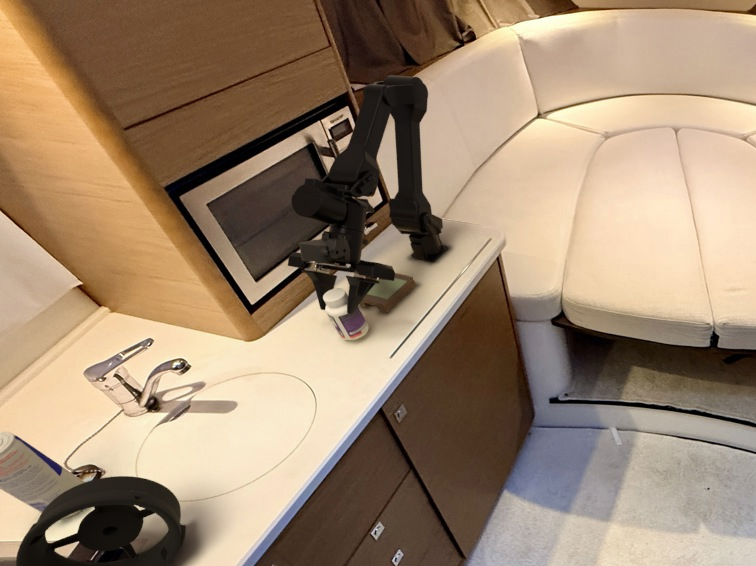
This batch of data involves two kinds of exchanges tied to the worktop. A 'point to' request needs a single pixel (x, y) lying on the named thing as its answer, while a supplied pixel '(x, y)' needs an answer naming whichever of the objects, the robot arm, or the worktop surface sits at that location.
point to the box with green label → (388, 292)
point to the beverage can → (31, 473)
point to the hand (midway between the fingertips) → (336, 311)
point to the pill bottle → (344, 315)
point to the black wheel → (107, 523)
